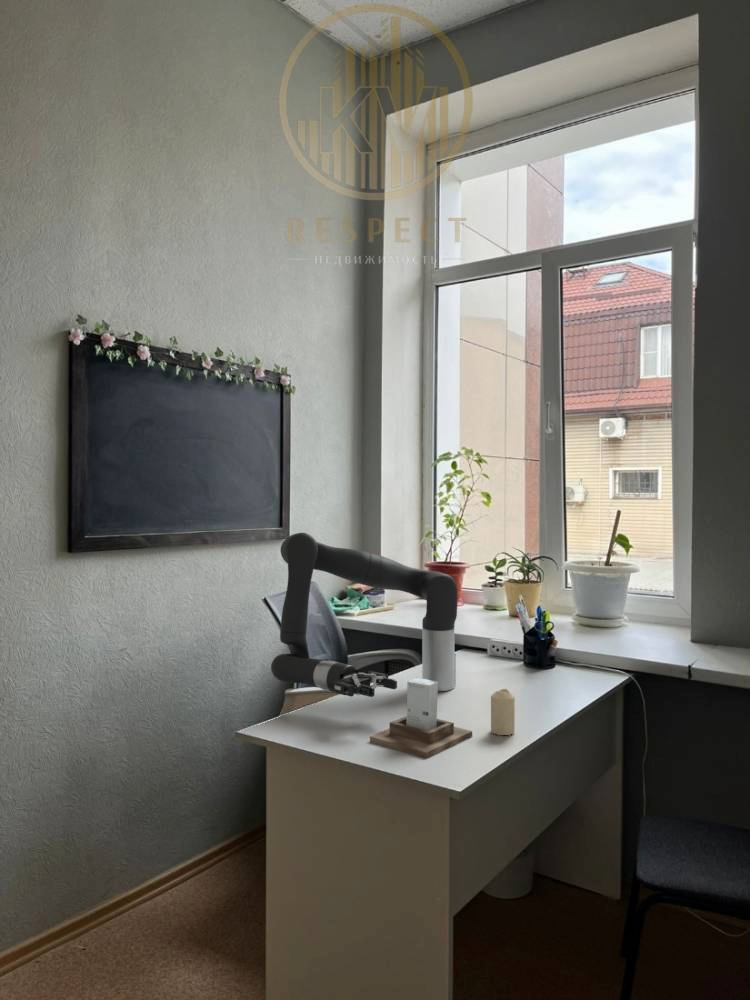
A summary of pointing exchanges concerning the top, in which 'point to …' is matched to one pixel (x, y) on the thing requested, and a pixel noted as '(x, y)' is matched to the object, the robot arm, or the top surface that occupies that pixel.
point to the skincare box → (422, 703)
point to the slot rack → (420, 737)
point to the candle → (502, 712)
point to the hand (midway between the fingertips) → (385, 688)
